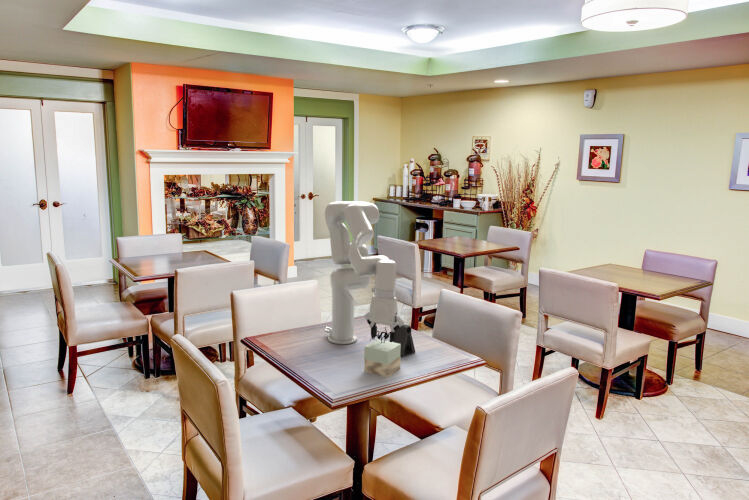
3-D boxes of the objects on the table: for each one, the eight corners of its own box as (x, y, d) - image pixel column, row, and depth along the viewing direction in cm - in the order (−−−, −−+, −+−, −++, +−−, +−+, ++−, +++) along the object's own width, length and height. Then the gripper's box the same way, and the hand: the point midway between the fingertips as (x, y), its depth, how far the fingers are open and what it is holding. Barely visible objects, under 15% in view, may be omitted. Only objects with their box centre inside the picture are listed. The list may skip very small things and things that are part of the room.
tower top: (364, 359, 202) (364, 346, 201) (377, 351, 211) (377, 338, 210) (387, 364, 197) (388, 351, 196) (400, 356, 206) (400, 343, 205)
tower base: (364, 372, 203) (364, 359, 202) (377, 363, 211) (377, 351, 210) (387, 378, 198) (387, 365, 197) (400, 369, 206) (400, 356, 205)
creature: (373, 349, 198) (393, 343, 200) (370, 335, 197) (391, 329, 199) (367, 341, 205) (387, 335, 207) (364, 328, 204) (384, 323, 206)
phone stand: (400, 357, 217) (401, 328, 215) (389, 353, 222) (390, 325, 219) (415, 352, 223) (416, 324, 221) (404, 348, 228) (406, 321, 226)
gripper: (359, 291, 200) (357, 337, 203) (401, 299, 192) (399, 346, 195) (369, 287, 207) (367, 332, 210) (410, 294, 199) (408, 340, 202)
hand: (383, 338), depth 203 cm, fingers closed on creature, 7 cm apart
